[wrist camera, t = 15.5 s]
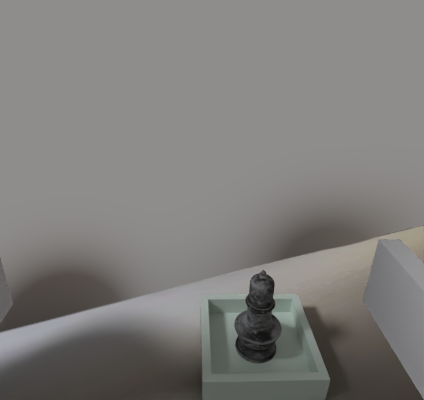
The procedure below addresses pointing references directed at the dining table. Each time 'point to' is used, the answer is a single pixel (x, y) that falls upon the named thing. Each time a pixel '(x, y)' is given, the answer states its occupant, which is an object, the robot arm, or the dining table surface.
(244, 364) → the tray
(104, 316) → the dining table surface
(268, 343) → the salt shaker
